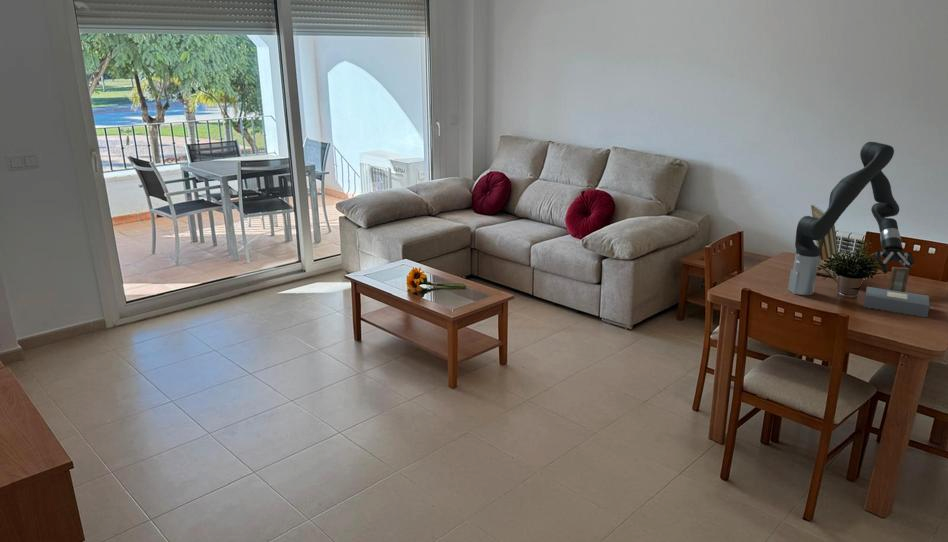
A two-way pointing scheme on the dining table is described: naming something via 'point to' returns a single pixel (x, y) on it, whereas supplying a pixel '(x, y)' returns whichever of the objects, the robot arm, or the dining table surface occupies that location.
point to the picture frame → (826, 242)
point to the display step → (897, 301)
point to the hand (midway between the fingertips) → (896, 273)
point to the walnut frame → (898, 279)
